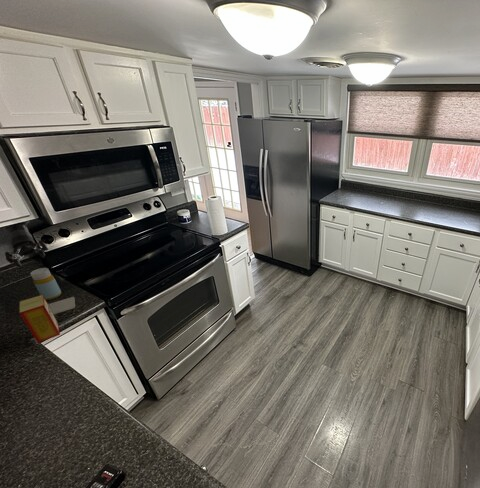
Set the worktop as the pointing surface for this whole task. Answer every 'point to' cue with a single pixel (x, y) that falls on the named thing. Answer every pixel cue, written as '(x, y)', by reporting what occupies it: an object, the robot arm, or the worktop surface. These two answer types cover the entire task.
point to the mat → (62, 305)
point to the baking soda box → (39, 318)
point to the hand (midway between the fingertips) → (31, 261)
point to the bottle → (46, 283)
